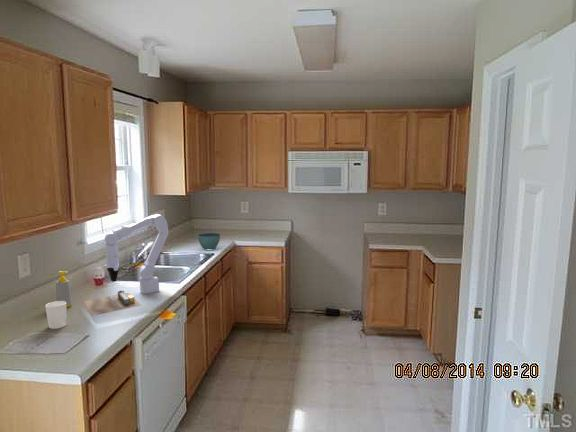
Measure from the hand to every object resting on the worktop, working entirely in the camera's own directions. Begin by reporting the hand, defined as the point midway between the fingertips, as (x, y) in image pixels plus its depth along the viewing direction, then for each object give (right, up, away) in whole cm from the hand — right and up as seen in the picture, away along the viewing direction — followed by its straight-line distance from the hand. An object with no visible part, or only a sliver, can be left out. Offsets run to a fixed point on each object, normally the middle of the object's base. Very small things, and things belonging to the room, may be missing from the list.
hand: (113, 281), depth 209 cm
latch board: (+3, -11, -10) cm, 15 cm away
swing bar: (+8, -8, -7) cm, 14 cm away
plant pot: (+26, +6, +123) cm, 126 cm away
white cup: (-10, -14, -34) cm, 38 cm away
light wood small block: (+12, -9, -9) cm, 17 cm away
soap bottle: (-20, -11, -10) cm, 25 cm away
